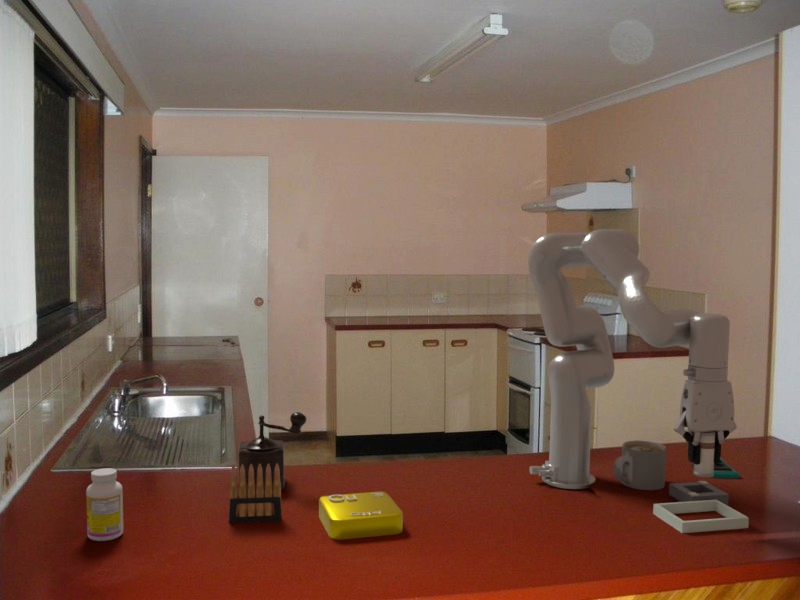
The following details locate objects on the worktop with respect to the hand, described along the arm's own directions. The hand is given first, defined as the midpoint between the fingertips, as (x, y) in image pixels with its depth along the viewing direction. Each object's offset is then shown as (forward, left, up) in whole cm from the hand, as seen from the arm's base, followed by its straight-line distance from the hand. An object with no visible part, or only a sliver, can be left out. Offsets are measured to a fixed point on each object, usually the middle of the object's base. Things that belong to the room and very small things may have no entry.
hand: (704, 461), depth 168 cm
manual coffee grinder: (-85, +42, -14) cm, 96 cm away
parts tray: (0, 0, -14) cm, 14 cm away
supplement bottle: (-119, +17, -14) cm, 121 cm away
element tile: (-69, +14, -14) cm, 72 cm away
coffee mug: (-1, +25, -14) cm, 28 cm away
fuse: (0, 0, -3) cm, 3 cm away
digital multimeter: (+24, +32, -14) cm, 42 cm away
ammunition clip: (-90, +20, -14) cm, 93 cm away
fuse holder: (+7, +12, -14) cm, 19 cm away
